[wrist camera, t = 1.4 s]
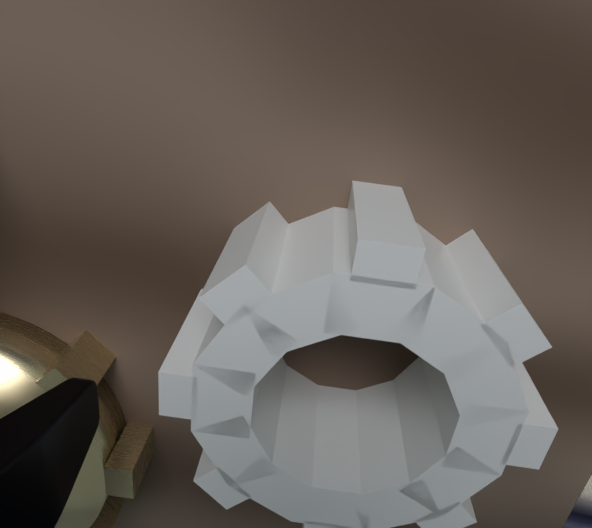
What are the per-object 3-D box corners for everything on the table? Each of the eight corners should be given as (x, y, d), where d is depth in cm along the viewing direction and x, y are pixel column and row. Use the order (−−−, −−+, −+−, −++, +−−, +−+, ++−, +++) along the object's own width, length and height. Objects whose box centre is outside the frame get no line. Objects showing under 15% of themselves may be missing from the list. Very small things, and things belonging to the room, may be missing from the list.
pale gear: (458, 456, 13) (490, 569, 10) (197, 418, 13) (160, 521, 10) (550, 207, 10) (632, 276, 7) (205, 160, 10) (156, 211, 7)
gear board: (508, 550, 17) (523, 597, 15) (-94, 462, 17) (-130, 500, 16) (824, -89, 9) (914, -110, 7) (-330, -230, 9) (-449, -275, 8)
